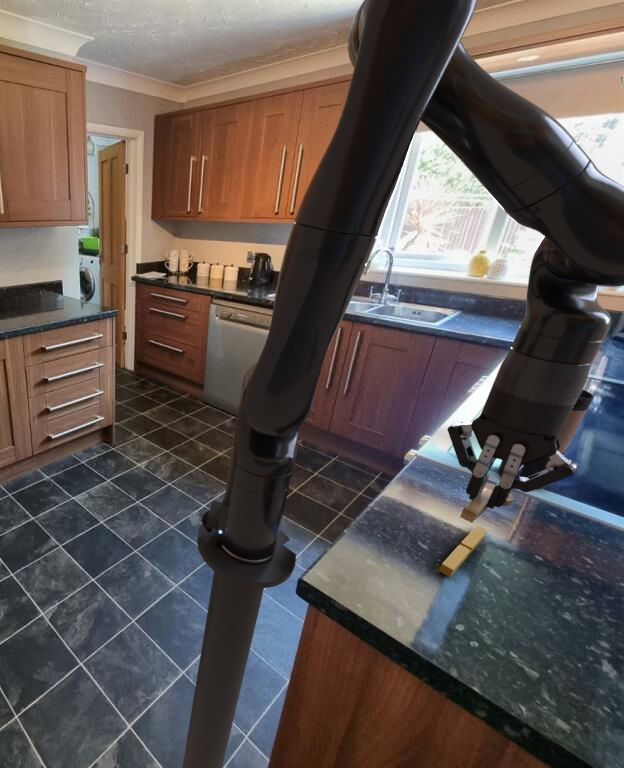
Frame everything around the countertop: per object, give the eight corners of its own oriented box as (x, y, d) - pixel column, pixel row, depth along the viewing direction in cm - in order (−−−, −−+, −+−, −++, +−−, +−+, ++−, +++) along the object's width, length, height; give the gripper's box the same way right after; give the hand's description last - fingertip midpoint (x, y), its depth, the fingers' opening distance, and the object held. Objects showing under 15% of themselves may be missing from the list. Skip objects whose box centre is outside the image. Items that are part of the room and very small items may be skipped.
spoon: (486, 530, 54) (490, 520, 54) (446, 510, 58) (450, 501, 57) (515, 499, 61) (520, 490, 60) (478, 484, 64) (482, 475, 64)
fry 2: (468, 555, 67) (472, 548, 67) (457, 549, 68) (461, 542, 68) (484, 537, 71) (487, 530, 70) (473, 531, 72) (476, 525, 71)
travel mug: (537, 495, 81) (587, 402, 73) (489, 474, 87) (530, 386, 79) (551, 482, 85) (600, 393, 77) (504, 463, 91) (544, 378, 83)
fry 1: (450, 577, 63) (453, 570, 63) (438, 570, 64) (441, 563, 64) (467, 557, 67) (471, 550, 66) (456, 551, 68) (459, 544, 67)
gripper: (456, 377, 55) (416, 485, 62) (607, 419, 45) (539, 543, 52) (478, 365, 59) (438, 469, 66) (622, 402, 48) (556, 520, 55)
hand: (482, 501), depth 59 cm, fingers closed on spoon, 1 cm apart
